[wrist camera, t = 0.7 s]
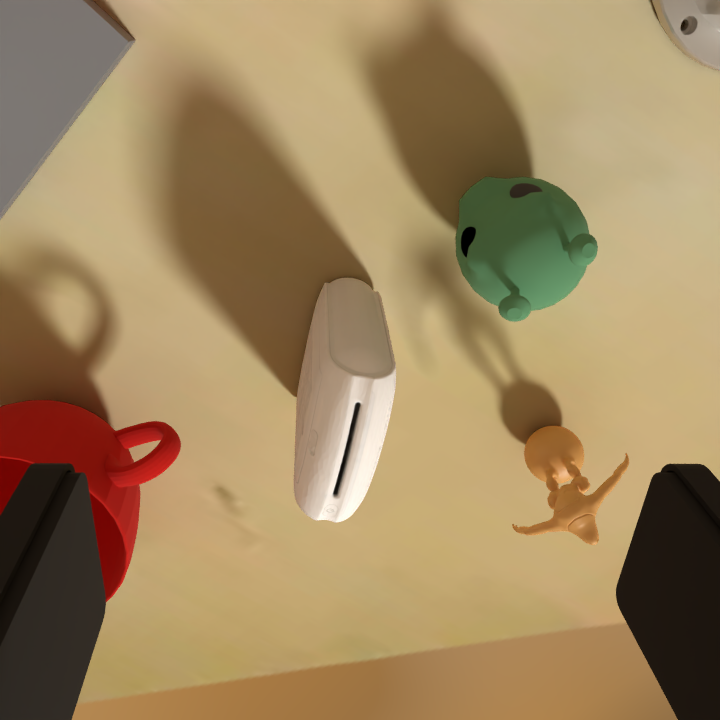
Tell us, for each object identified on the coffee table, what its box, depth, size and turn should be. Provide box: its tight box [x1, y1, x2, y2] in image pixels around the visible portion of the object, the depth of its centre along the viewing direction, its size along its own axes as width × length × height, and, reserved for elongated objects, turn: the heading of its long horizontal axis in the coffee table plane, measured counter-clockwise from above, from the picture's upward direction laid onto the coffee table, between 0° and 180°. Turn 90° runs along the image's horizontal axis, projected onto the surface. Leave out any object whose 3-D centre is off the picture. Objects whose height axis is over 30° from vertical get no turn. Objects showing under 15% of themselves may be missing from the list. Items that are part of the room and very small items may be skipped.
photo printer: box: [294, 278, 396, 522], centre depth 39 cm, size 10×4×12 cm, turn 167°
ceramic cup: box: [0, 400, 181, 602], centre depth 41 cm, size 13×17×10 cm
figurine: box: [512, 426, 629, 545], centre depth 43 cm, size 8×6×12 cm
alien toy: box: [456, 177, 598, 322], centre depth 36 cm, size 7×8×10 cm
